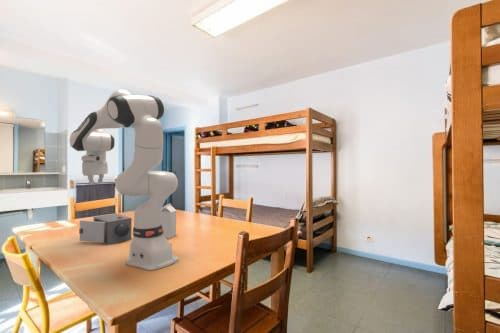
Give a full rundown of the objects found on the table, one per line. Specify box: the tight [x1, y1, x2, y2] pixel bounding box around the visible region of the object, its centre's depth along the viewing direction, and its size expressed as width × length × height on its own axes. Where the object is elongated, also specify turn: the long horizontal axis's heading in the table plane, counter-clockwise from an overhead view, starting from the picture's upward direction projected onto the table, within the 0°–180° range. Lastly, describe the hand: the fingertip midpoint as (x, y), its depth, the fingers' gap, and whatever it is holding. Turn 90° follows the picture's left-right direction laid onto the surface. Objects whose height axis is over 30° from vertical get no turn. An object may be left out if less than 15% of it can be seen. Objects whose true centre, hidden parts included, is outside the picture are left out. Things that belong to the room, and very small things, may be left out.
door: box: [78, 220, 106, 244], centre depth 123 cm, size 16×2×11 cm, turn 77°
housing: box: [93, 213, 133, 246], centre depth 132 cm, size 22×12×13 cm, turn 52°
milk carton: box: [161, 203, 177, 239], centre depth 137 cm, size 7×7×19 cm
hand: (96, 183), depth 125 cm, fingers open, 8 cm apart
